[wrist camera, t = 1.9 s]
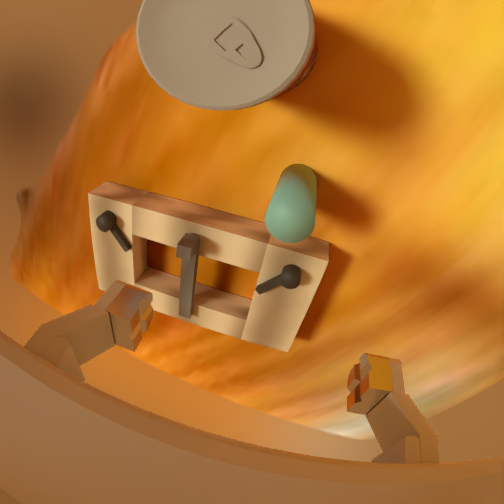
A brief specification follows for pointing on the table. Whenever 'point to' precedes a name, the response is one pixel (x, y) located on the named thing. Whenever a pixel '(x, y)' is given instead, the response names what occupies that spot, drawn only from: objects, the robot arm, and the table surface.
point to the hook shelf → (212, 246)
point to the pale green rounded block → (293, 205)
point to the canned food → (227, 49)
